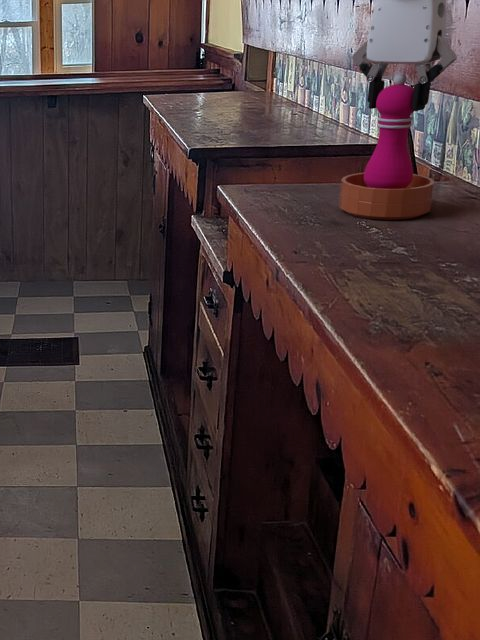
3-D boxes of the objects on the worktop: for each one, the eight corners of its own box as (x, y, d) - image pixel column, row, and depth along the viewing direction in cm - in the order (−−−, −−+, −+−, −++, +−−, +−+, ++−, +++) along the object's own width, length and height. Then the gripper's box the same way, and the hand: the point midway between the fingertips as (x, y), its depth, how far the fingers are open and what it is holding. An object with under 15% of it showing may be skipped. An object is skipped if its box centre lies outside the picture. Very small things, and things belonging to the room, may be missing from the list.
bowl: (444, 208, 140) (449, 177, 138) (406, 225, 131) (410, 193, 129) (363, 197, 149) (366, 168, 147) (323, 213, 141) (326, 182, 139)
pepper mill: (387, 196, 144) (402, 70, 136) (419, 204, 137) (437, 73, 130) (351, 201, 142) (364, 74, 134) (382, 210, 135) (398, 77, 128)
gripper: (484, -22, 123) (464, 108, 130) (367, -16, 135) (354, 103, 142) (462, -20, 119) (443, 115, 126) (343, -14, 131) (331, 109, 138)
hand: (396, 107), depth 134 cm, fingers closed on pepper mill, 6 cm apart
